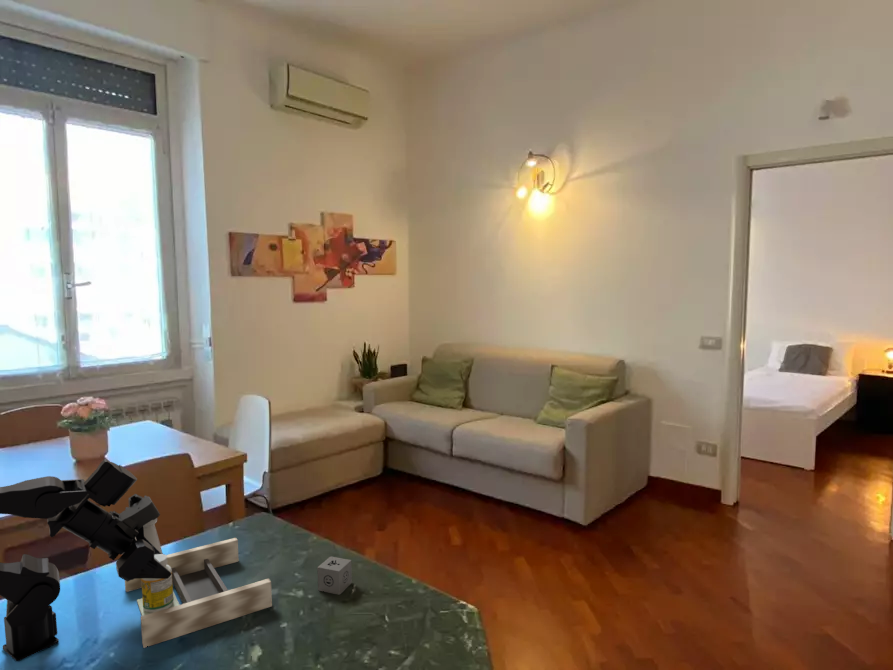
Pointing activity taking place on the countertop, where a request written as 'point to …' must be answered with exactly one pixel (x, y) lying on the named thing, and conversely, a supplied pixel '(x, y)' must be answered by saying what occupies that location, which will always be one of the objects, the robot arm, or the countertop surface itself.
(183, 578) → the walled lane
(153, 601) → the supplement bottle
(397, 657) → the countertop surface
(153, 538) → the salt shaker
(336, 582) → the dice cube
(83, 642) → the countertop surface
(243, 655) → the countertop surface
